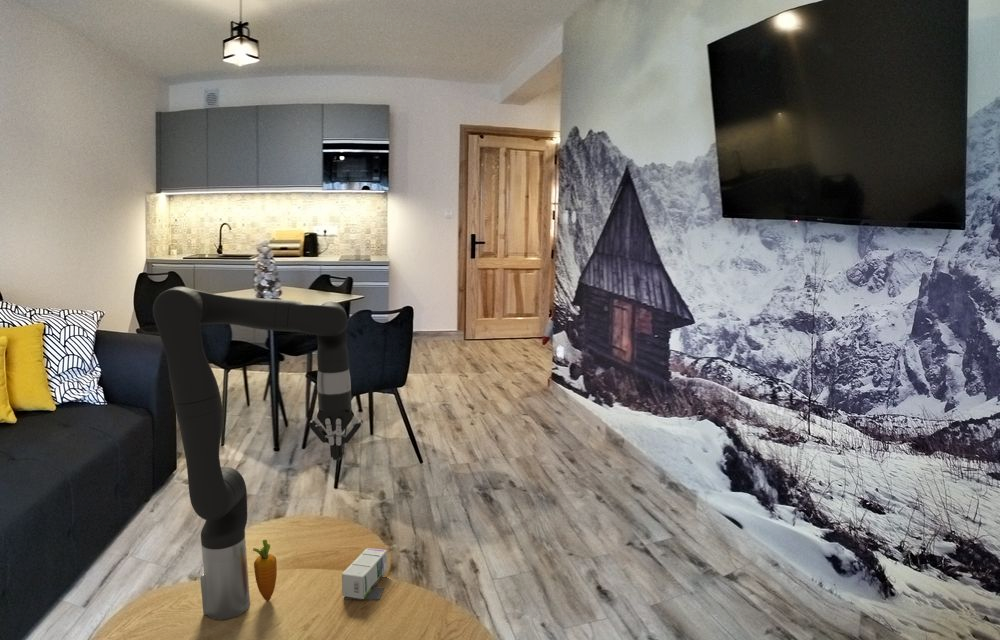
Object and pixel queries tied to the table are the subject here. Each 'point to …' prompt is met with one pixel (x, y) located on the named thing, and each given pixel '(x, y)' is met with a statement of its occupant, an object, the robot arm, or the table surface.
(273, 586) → the carrot
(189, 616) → the table surface
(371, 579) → the syrup box
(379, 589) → the grey flat block
